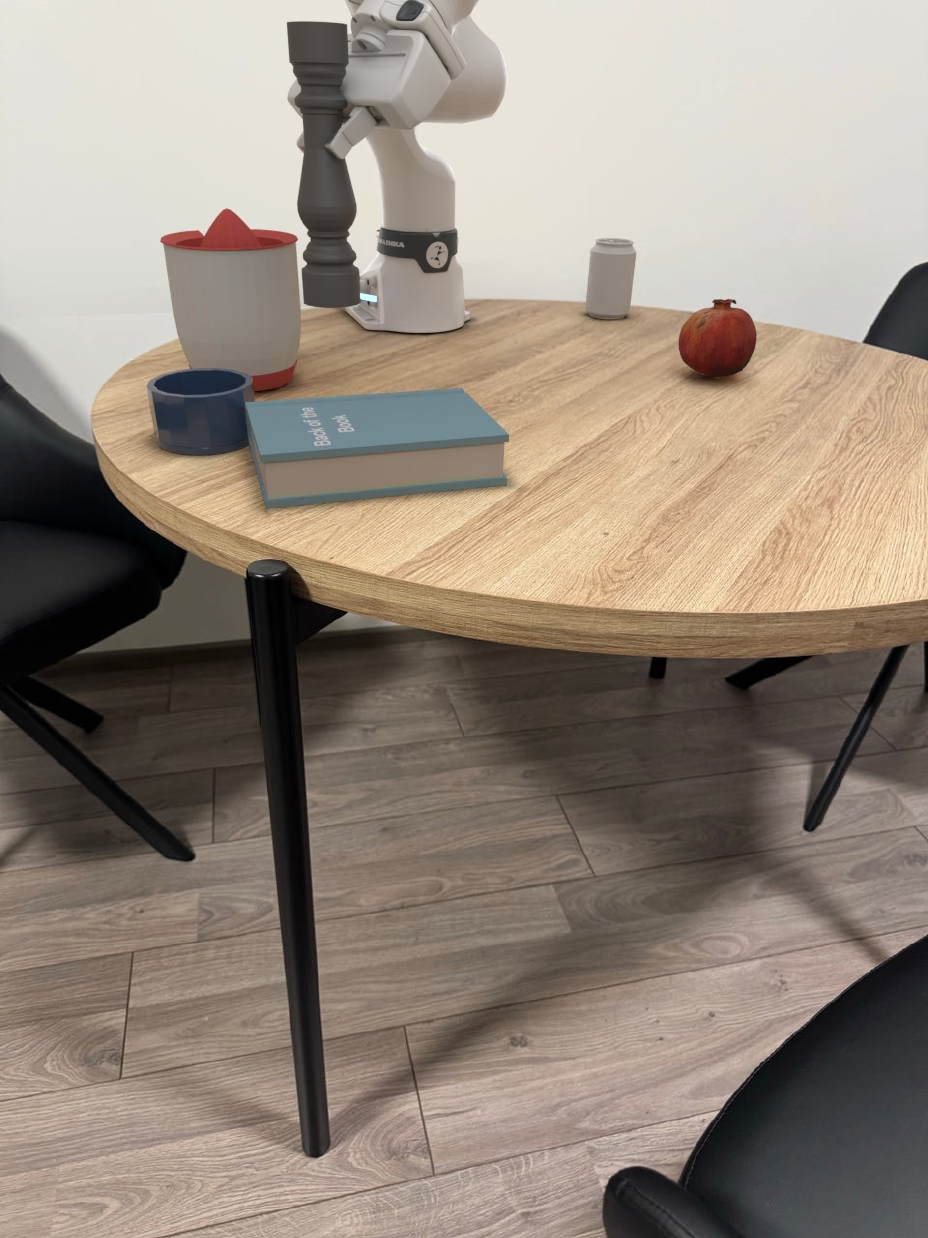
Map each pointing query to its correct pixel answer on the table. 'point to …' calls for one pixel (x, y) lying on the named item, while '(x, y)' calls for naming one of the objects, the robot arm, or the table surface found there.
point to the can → (610, 278)
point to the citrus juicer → (236, 299)
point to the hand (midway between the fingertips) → (318, 151)
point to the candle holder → (324, 165)
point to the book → (373, 446)
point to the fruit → (718, 340)
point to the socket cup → (200, 410)
